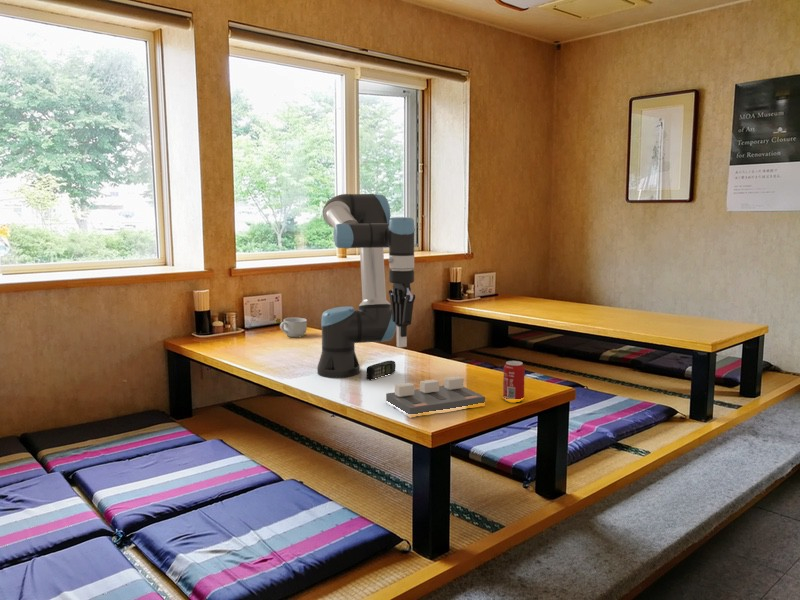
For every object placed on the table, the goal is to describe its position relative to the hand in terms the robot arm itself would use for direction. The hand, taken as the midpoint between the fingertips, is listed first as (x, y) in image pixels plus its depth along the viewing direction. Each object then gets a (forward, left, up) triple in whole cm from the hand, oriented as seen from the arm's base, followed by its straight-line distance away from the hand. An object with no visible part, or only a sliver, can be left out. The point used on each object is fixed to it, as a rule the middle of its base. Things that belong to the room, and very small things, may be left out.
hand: (401, 346), depth 197 cm
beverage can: (+16, +30, -17) cm, 38 cm away
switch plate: (+9, +7, -17) cm, 20 cm away
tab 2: (+5, +7, -13) cm, 16 cm away
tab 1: (+5, -1, -13) cm, 15 cm away
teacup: (-111, -2, -17) cm, 113 cm away
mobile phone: (-29, +7, -17) cm, 35 cm away
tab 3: (+5, +15, -13) cm, 21 cm away
